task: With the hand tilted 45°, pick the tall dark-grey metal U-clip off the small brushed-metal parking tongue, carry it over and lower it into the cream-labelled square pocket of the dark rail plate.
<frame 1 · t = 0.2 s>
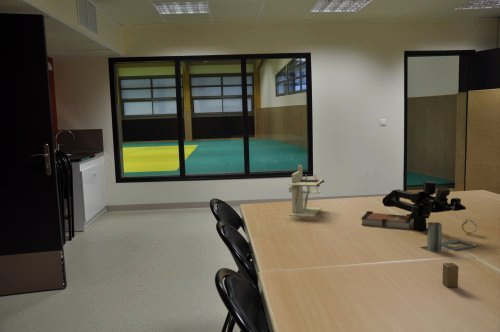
hand: (458, 208, 198), 17 cm above the table, tool horizontal, fingers open, 9 cm apart
ring: (469, 234, 212), on the table
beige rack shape: (307, 211, 274), on the table
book: (387, 224, 237), on the table
wooden block: (450, 286, 150), on the table
grey clip: (434, 248, 189), resting on parking tongue
rail plate: (456, 246, 193), on the table
parking tongue: (434, 249, 189), on the table
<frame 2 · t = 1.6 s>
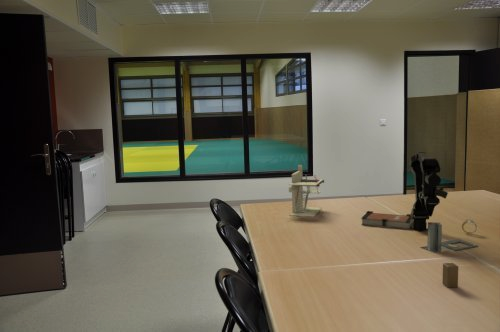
hand: (428, 214, 203), 13 cm above the table, tool pointing down, fingers open, 9 cm apart
nothing on the table moved.
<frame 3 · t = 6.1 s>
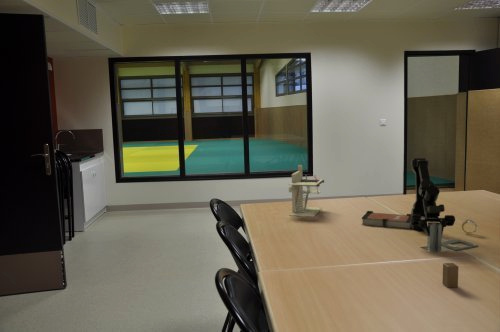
hand: (435, 236, 187), 7 cm above the table, tool tilted 45°, fingers closed on grey clip, 5 cm apart
grey clip: (434, 248, 189), resting on parking tongue, touching gripper
everything else where it was.
when the fingers open (8 cm above the table, at t = 9.3 s): grey clip drops 1 cm, resting on rail plate.
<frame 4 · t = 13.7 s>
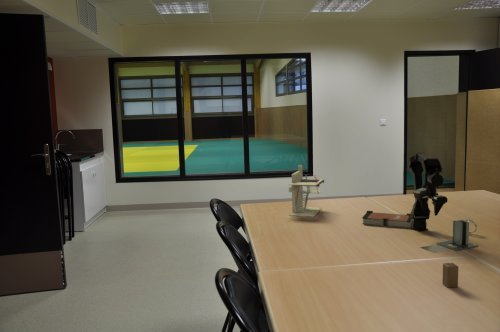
hand: (429, 213, 205), 13 cm above the table, tool pointing down, fingers open, 9 cm apart
grey clip: (460, 246, 192), resting on rail plate
at the end: grey clip 0.1 cm from the target spot, resting on rail plate; grey clip tilted 0°; the gripper is holding nothing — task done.
